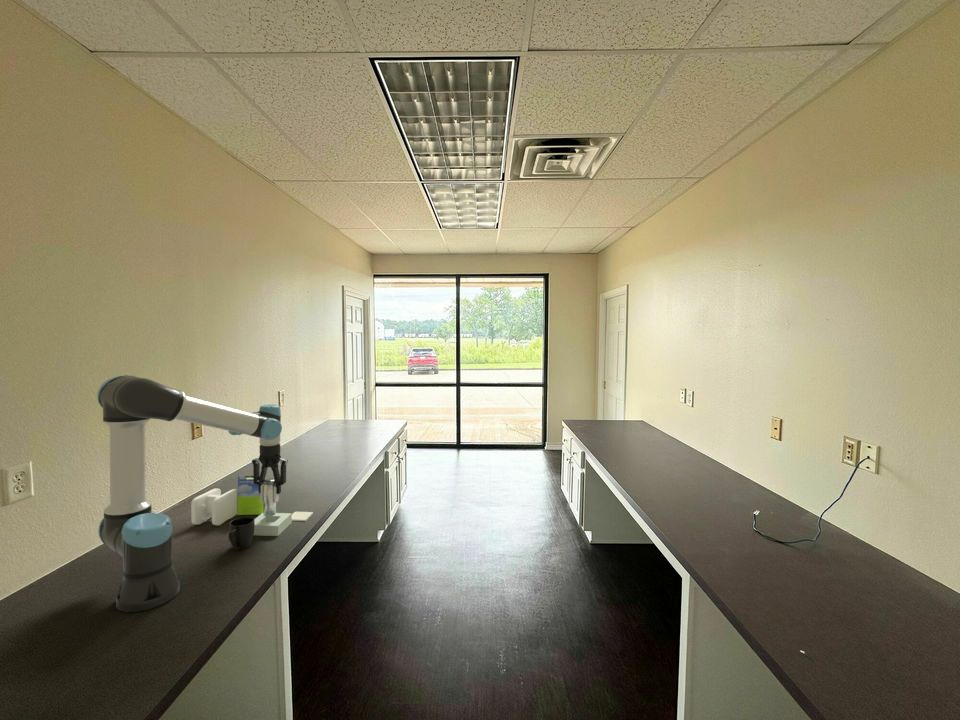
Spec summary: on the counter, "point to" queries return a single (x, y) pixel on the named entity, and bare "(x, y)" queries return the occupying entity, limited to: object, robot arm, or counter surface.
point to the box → (249, 497)
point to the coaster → (301, 516)
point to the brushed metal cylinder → (269, 497)
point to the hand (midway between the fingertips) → (269, 501)
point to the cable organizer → (214, 506)
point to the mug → (241, 532)
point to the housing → (272, 524)
